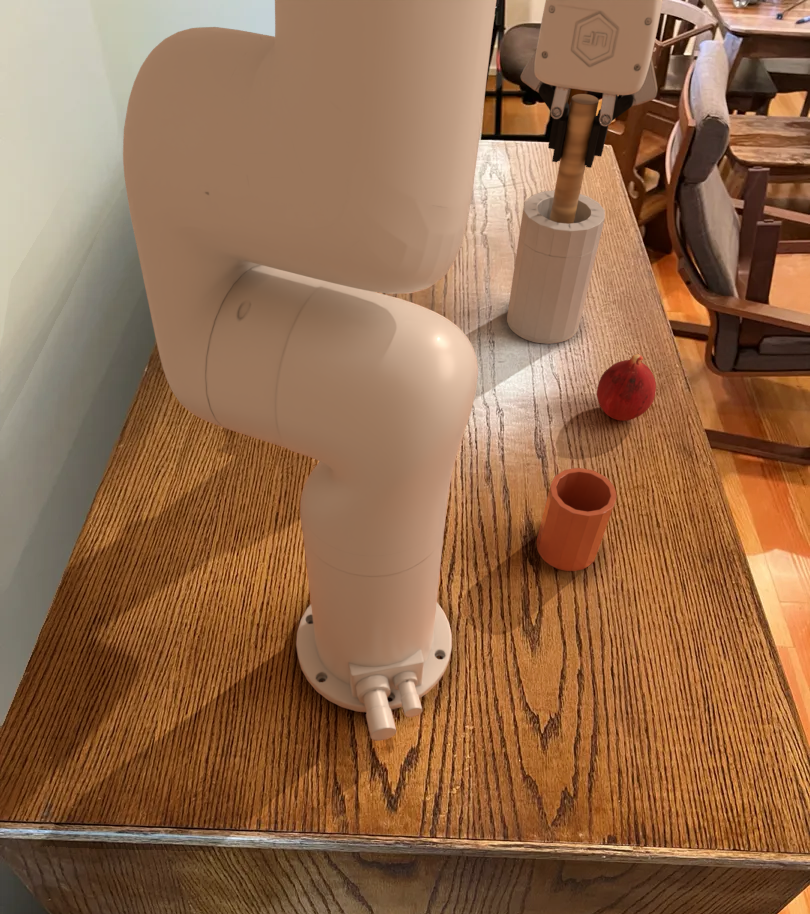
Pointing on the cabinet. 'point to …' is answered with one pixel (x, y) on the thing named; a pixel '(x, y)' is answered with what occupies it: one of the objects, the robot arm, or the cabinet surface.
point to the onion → (626, 389)
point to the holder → (575, 518)
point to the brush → (573, 157)
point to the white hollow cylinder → (553, 269)
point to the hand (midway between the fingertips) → (573, 157)
